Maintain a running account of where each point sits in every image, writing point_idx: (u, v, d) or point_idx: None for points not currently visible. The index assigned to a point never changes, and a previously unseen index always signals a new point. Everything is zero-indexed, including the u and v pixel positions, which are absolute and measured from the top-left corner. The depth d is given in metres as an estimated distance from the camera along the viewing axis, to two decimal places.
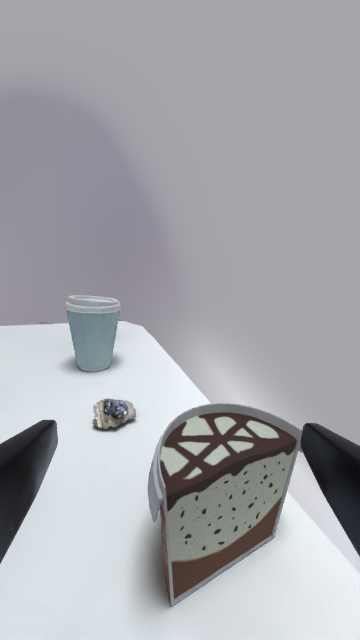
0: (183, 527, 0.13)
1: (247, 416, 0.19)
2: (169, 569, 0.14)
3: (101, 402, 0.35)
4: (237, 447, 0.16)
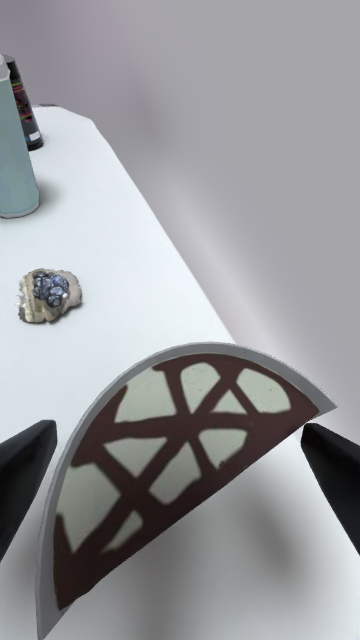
0: None
1: (241, 359, 0.11)
2: None
3: (30, 275, 0.24)
4: (217, 449, 0.08)
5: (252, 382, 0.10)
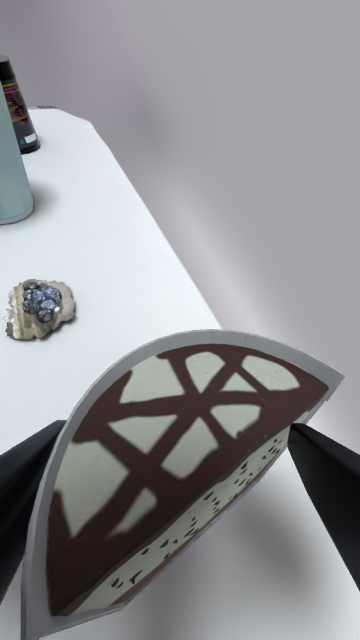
0: (121, 584, 0.07)
1: (243, 348, 0.11)
2: (106, 613, 0.08)
3: (21, 287, 0.23)
4: (232, 421, 0.08)
5: (257, 366, 0.10)
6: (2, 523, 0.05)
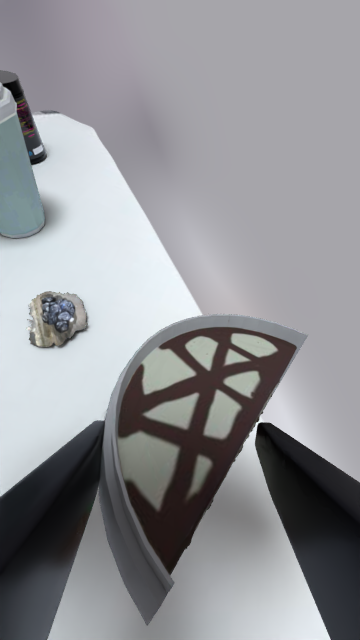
0: None
1: (227, 328, 0.13)
2: None
3: (38, 299, 0.26)
4: (243, 386, 0.09)
5: (243, 340, 0.12)
6: (63, 522, 0.05)
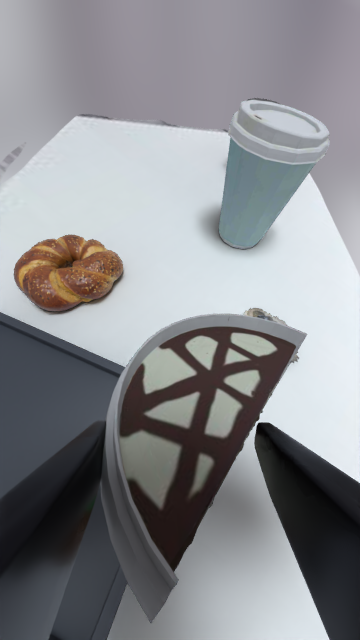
0: None
1: (227, 327, 0.13)
2: None
3: (251, 313, 0.27)
4: (243, 385, 0.09)
5: (242, 340, 0.12)
6: (64, 522, 0.05)
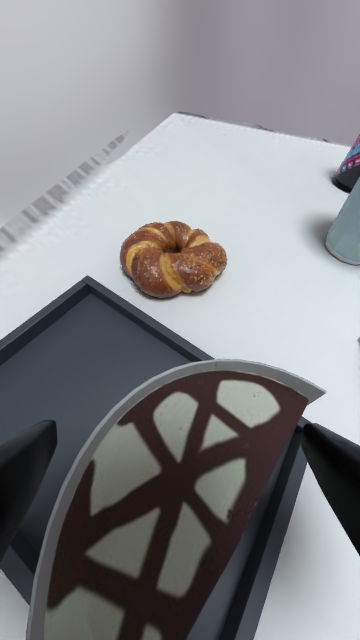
0: None
1: (214, 373, 0.10)
2: None
3: None
4: (219, 497, 0.07)
5: (233, 394, 0.09)
6: None
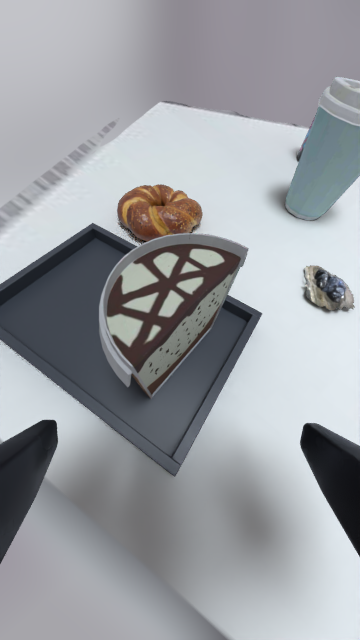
0: (152, 370, 0.14)
1: (188, 244, 0.16)
2: (146, 391, 0.16)
3: (311, 268, 0.30)
4: (189, 287, 0.14)
5: (199, 254, 0.16)
6: None
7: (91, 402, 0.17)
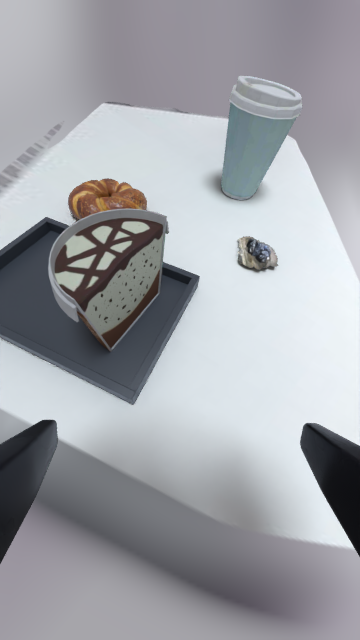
0: (100, 315, 0.18)
1: (120, 218, 0.20)
2: (101, 338, 0.20)
3: (244, 239, 0.36)
4: (119, 248, 0.18)
5: (129, 225, 0.20)
6: None
7: (58, 357, 0.21)
